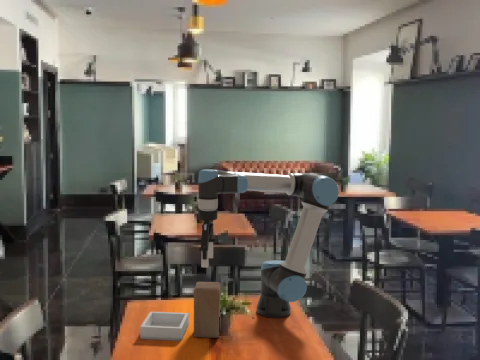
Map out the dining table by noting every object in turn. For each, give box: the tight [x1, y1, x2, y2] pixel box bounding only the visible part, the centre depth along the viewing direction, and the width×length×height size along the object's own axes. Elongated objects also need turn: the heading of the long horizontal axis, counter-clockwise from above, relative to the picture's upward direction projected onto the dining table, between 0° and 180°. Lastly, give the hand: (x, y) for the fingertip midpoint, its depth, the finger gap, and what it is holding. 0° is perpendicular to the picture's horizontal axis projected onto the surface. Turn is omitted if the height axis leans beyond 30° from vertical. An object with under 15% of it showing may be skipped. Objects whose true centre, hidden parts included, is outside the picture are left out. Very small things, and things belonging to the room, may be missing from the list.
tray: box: [139, 311, 190, 342], centre depth 217 cm, size 16×16×5 cm
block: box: [193, 281, 222, 339], centre depth 215 cm, size 10×10×20 cm
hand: (207, 262), depth 212 cm, fingers open, 13 cm apart
